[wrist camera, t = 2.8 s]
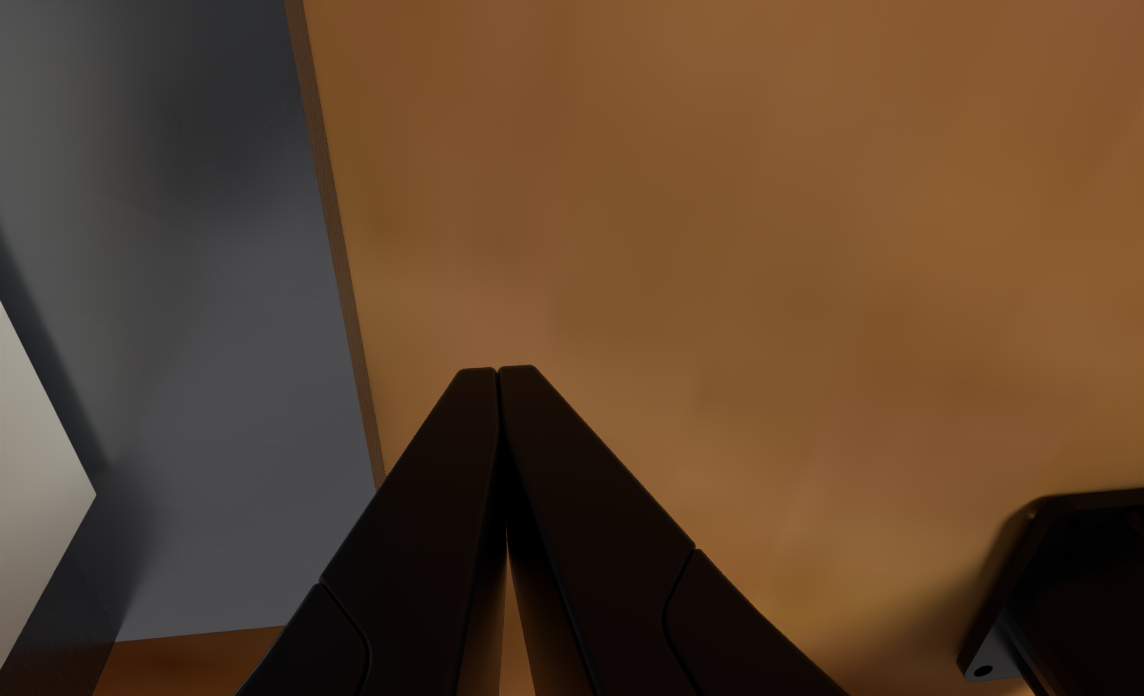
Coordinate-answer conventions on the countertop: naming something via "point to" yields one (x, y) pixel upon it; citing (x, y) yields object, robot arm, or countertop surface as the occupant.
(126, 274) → the gauge bench
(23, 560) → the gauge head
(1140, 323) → the countertop surface
